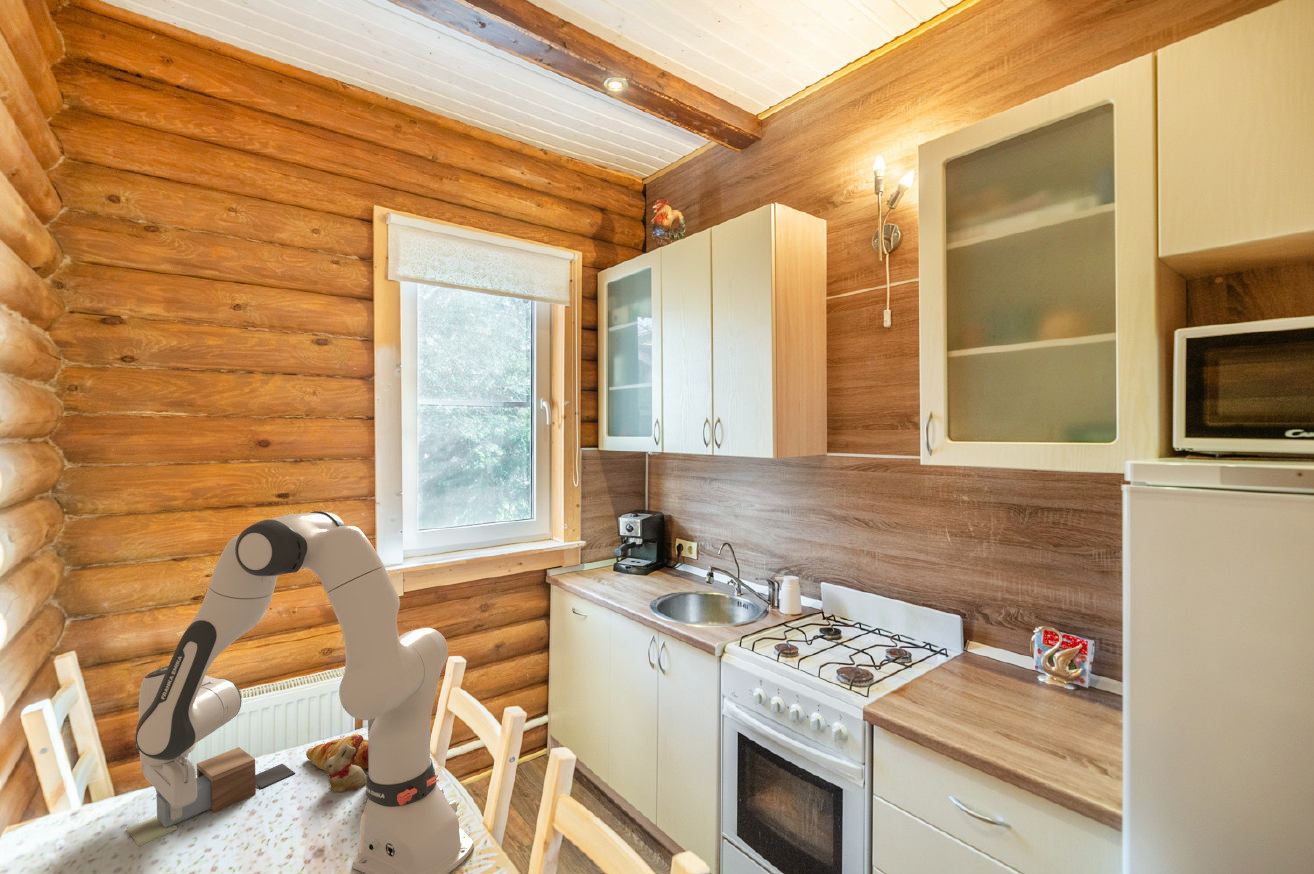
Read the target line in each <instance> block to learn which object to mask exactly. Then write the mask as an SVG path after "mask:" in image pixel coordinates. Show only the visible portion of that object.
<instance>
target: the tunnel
mask: <svg viewBox="0 0 1314 874" xmlns="http://www.w3.org/2000/svg"><path fill="white" fill-rule="evenodd" d="M295 774H296V773H295V771H294V770H292V769H291V768H289V767H288V766H286V764H284V763H279V764H278V765H276V766H273V767H270V768H268V769H265V770H263V771H262V772H259V773H257V774H256V759H255V758H254V757H253V756H252V755H250V754H249V753H248V752H246V751H245V750H244V749H242V747H239V746H238V747H236V748H233V749H231V750H228V751H225V752H222V753H220V754H218V755H215V756H213V757H209V758H207V759H205V760H203V761H199V762H197V763H196V778H198V777H201V776H203V775H205V776H206V777H208V778H209V779H210V789H211V808H209V809H206V810H204V811H202V812H200V813H197V814H195V815H193V816H191V817H188V818H186V819H184V820H182V821H180V822H177V823H175V824H173V825H171V826H168V827H166V828H165V827H164V826H163V824H162V823H161V822H160V821H159V820H158V819H157V815H155V816H153V817H150V818H148V819H146V820H143V821H142V822H141V821H140V823H139V822H138V823H136V824H134V825H132V826H130V827H128V828H126V832H127V833H128V835H129V836H130V837H131V838H132V840H133V841H134V842H135V844H136V845H137V846H138V847H141V846H143V845H145V844H148V843H150V842H153V841H154V840H156V839H159V838H160V837H162V836H166V835H167V834H170V833H171V832H174V831H176V830H178V826H176V825H177V824H179V823H182V822H184V821H186V820H188V819H189V820H190V818H193V817H195V816H197V815H200V814H202V813H204V812H207V811H209V810H210V812H211V813H212V814H215V813H217V812H220V811H222V810H224V809H225V808H228V807H230V806H232V805H234V804H236V803H239V802H241V801H243V800H244V801H245V799H248V798H250V797H252V796H254V795H257V792H256V791H257V790H256V789H257V788H259V789H261V790H263V789H264V788H267V787H268V786H270V785H273V784H275V783H277V782H281V781H282V780H285V779H286V778H288V777H291V776H293V775H295Z"/></svg>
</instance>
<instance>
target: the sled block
mask: <svg viewBox="0 0 1314 874" xmlns="http://www.w3.org/2000/svg"><path fill="white" fill-rule="evenodd" d="M196 781H197V799H196V801H195V802H193V803H191V804H189V805H187V806H184V807H183V808H182V816H181V817H180V818H178V819H175V820H172V819H171V818H170V817H169V810H170V807H171V805H170V803H169V802H168V801H167V800H166V799H165V798H164V797H163V796H162V795H161V794H160V793H159V794H157V793H156V816H157V819H158V820H159V821H160V822H161V823H162V824H163V826H164V827H165V828H166V827H168V826H171V825H173V824H175V823H177V822H180V821H182V820H184V819H186V818H188V817H191V816H193V815H195V814H197V813H200V812H202V811H204V810H206V809H209V808H211V789H210V779H209V778H208V777H206V776H205V775H203V776H201V777H198V778H197V777H196ZM209 810H210V809H209ZM204 812H205V811H204ZM202 813H203V812H202ZM200 814H201V813H200ZM195 816H196V815H195ZM193 817H194V816H193ZM191 818H192V817H191ZM186 820H187V819H186ZM184 821H185V820H184ZM182 822H183V821H182ZM180 823H181V822H180ZM175 825H176V824H175Z"/></svg>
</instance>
